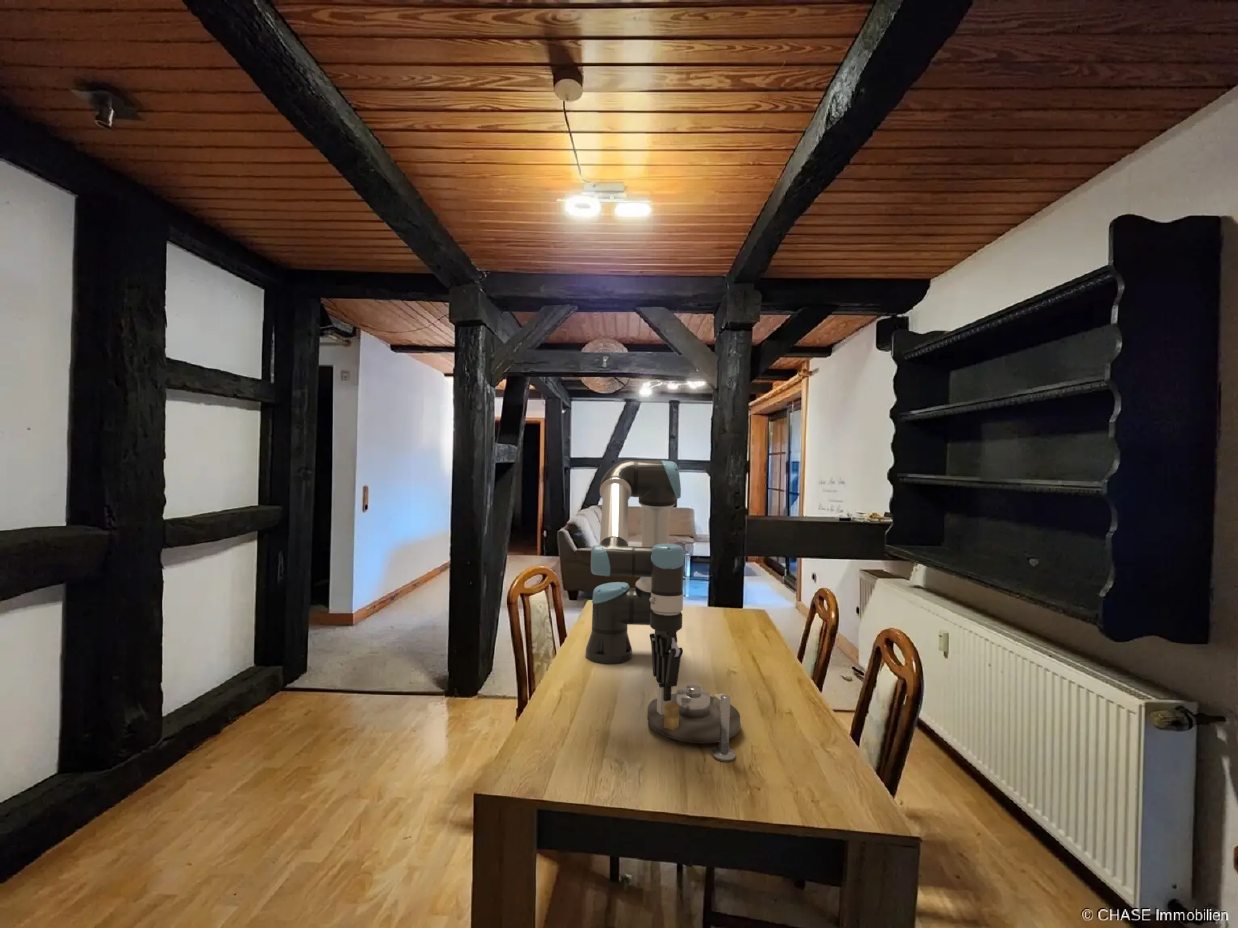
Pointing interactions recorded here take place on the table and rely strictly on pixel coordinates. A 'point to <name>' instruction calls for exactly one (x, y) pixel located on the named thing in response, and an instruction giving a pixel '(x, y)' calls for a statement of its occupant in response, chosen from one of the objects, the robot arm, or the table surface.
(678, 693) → the cover
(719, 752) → the dial post
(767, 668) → the table surface
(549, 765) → the table surface
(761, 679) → the table surface
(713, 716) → the turntable
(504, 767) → the table surface
